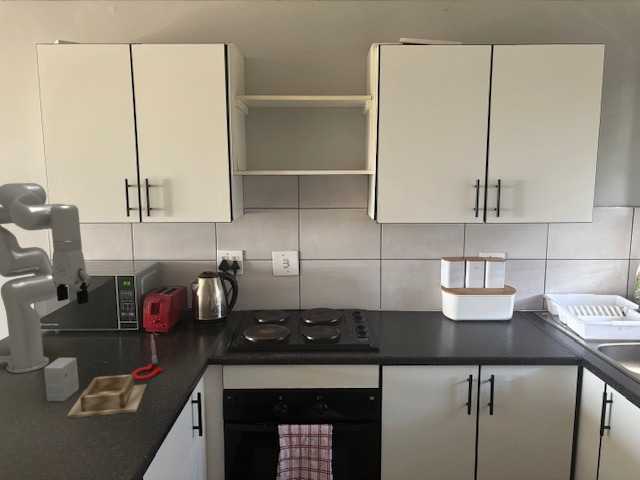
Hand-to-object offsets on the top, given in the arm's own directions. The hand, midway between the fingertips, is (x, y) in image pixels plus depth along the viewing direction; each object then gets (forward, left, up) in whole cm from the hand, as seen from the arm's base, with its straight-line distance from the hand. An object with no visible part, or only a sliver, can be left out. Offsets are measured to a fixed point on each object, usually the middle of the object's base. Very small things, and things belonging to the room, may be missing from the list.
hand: (73, 301), depth 141 cm
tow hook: (+18, +8, -29) cm, 35 cm away
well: (+11, -10, -28) cm, 32 cm away
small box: (-4, -3, -29) cm, 29 cm away
